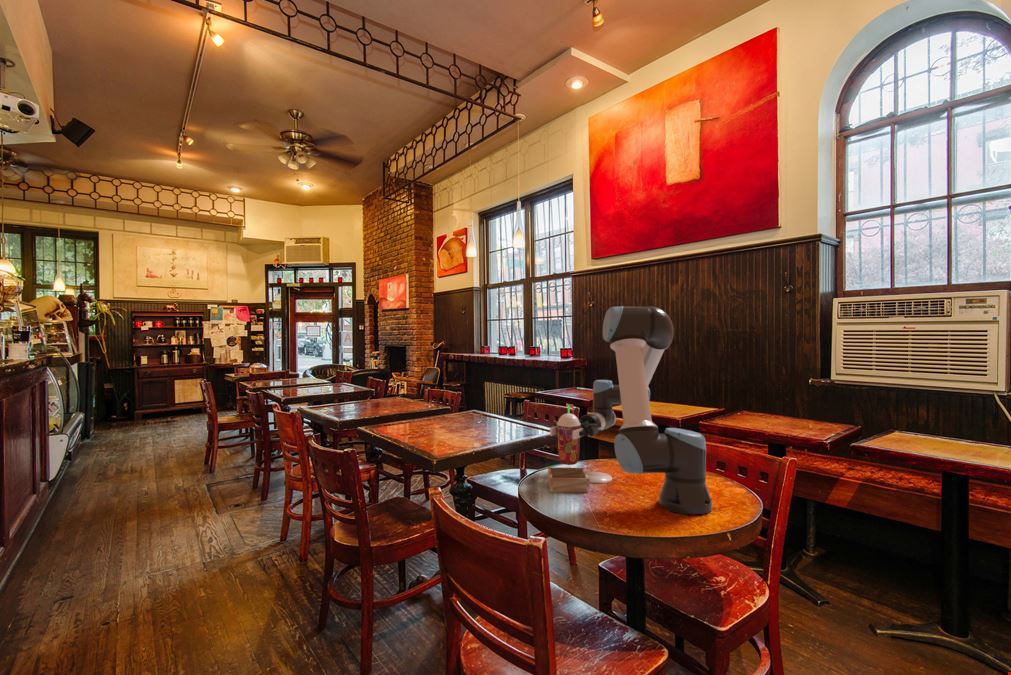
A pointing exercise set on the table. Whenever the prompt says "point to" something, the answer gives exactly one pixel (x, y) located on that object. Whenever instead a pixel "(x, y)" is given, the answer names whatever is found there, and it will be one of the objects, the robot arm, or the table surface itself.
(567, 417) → the smoothie
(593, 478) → the pale round disc
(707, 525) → the table surface
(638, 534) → the table surface
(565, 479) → the crate
